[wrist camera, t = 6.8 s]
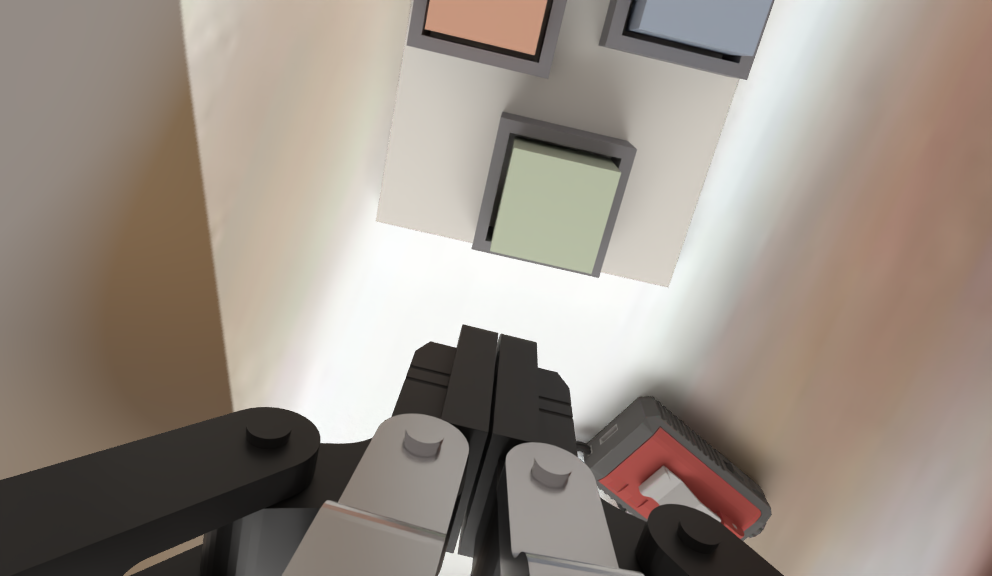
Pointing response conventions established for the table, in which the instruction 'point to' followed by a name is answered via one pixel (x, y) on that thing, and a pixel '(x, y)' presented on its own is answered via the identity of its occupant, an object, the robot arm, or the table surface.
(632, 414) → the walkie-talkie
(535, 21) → the terracotta button
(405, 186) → the button panel
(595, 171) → the sage green button
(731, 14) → the slate blue button
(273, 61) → the table surface
